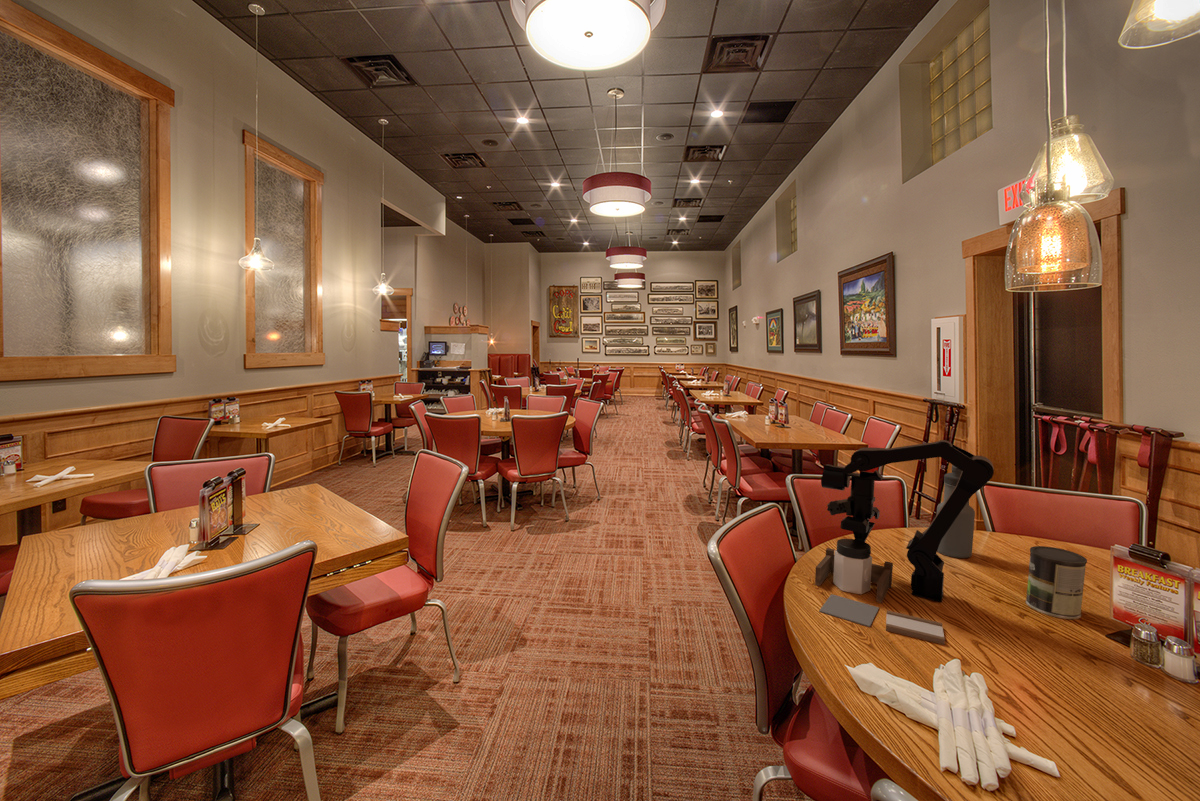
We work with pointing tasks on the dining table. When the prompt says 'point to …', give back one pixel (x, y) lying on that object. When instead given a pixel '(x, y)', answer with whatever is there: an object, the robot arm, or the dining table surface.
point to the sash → (915, 627)
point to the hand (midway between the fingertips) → (859, 547)
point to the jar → (852, 566)
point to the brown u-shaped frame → (878, 574)
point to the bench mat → (850, 610)
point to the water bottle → (957, 523)
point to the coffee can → (1056, 582)
